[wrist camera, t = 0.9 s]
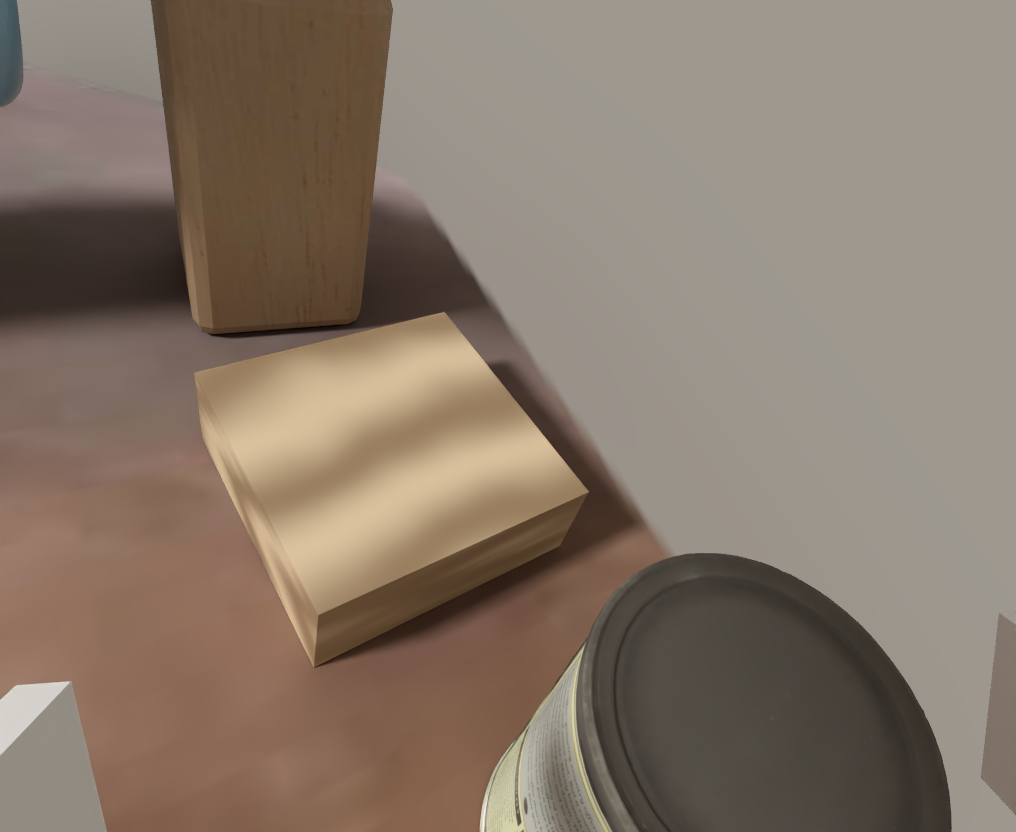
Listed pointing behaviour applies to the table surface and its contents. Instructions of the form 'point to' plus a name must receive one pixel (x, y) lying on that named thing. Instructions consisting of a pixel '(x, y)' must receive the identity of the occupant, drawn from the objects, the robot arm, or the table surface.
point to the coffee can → (723, 718)
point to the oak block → (382, 476)
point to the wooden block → (273, 153)
